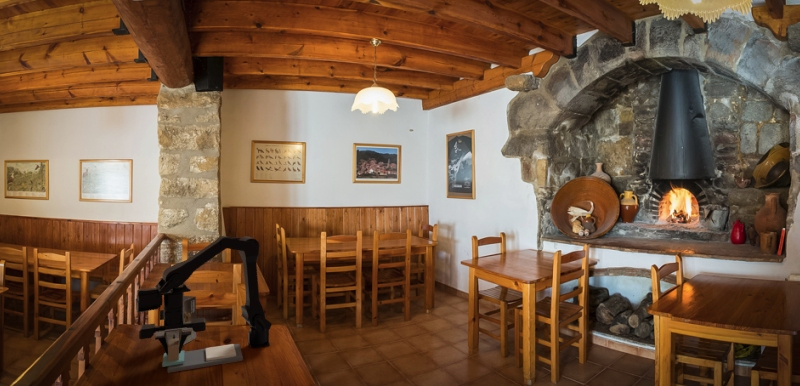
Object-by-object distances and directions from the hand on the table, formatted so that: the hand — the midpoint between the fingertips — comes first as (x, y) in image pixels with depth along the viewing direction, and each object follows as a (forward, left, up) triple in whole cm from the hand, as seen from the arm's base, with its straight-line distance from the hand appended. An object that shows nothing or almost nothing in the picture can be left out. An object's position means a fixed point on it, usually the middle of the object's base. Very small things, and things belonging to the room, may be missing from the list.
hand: (173, 353), depth 137 cm
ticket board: (-9, 0, -3) cm, 10 cm away
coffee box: (-1, -19, -4) cm, 19 cm away
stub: (0, 0, -2) cm, 2 cm away
